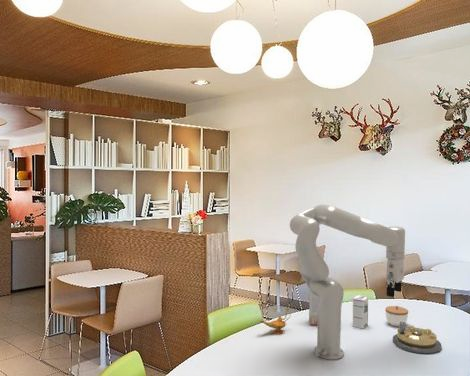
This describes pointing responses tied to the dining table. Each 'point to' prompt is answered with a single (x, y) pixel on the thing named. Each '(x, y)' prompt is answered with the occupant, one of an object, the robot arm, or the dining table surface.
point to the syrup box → (360, 311)
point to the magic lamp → (277, 324)
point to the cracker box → (313, 308)
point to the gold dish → (416, 336)
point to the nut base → (417, 350)
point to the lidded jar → (396, 315)
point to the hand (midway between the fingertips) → (394, 293)
